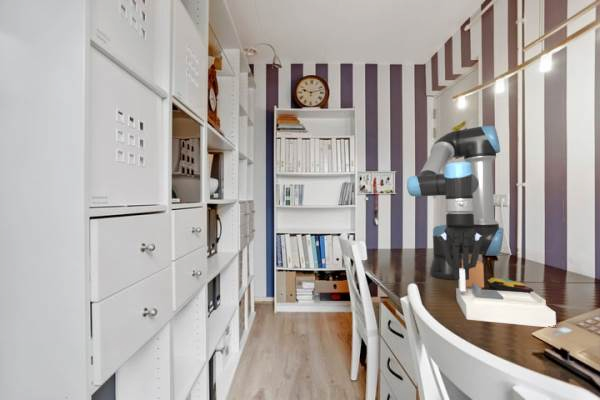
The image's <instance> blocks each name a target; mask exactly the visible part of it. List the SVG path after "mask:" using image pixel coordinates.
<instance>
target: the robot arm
mask: <svg viewBox="0 0 600 400" xmlns="http://www.w3.org/2000/svg"><path fill="white" fill-rule="evenodd" d="M498 153H501V146H500V140H499V136H498V131H497V129H496V127H495V126H494V125H480V126H476V127H470V128H465V129H461V130H460V129H459V130H453V131H451V132H447V133H446V134H444V135H443V136H441V137H440V138H438V139H437V140H436V141H435V142H434V143H433V144H432V146H431V148H430V155H428V159H427V160H426V161H425V162H424V165H423V167H422V169H421V170H420V172H419V174H418V175H413V176H410V177H408V179H407V182H406V185H407V186H406V189H407V192H408V194H409V195H410V196H411V197H431V196H434V197H436V196H438V197H439V196H445V212H446V214H445V224H441V225H436V226H434V228H433V230H432V246H433V260H432V263H431V266H430V269H429V276H431V275H432V276H431V277H433V276H434V278H438V279H442V280H443V279H444V280H458V288H459V290H460V291H465V292H466V285H465V280H469V269H470V268H475V267H476V264H477V261H478V259H479V255H480V256H481V255H482V256H486V257H487V256H493V257H494V256H499V255H500V254H501V251H502V247H503V240H504V228H503V227H501V226H500V223H499V222H498V221H497V220H496V219H495V205H494V202H495V201H494V185H493V184H494V182H493V181H494V180H493V176H494V175H493V162H494V160H496V159H497V154H498ZM453 158H463V160H464V161H459V162H457V161H456V162H450V163H449V161H451V160H452V159H453ZM470 255H471V257H469V256H470ZM462 260H463V267H464V268H462ZM469 260H471V261H470V263H469Z"/></svg>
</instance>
